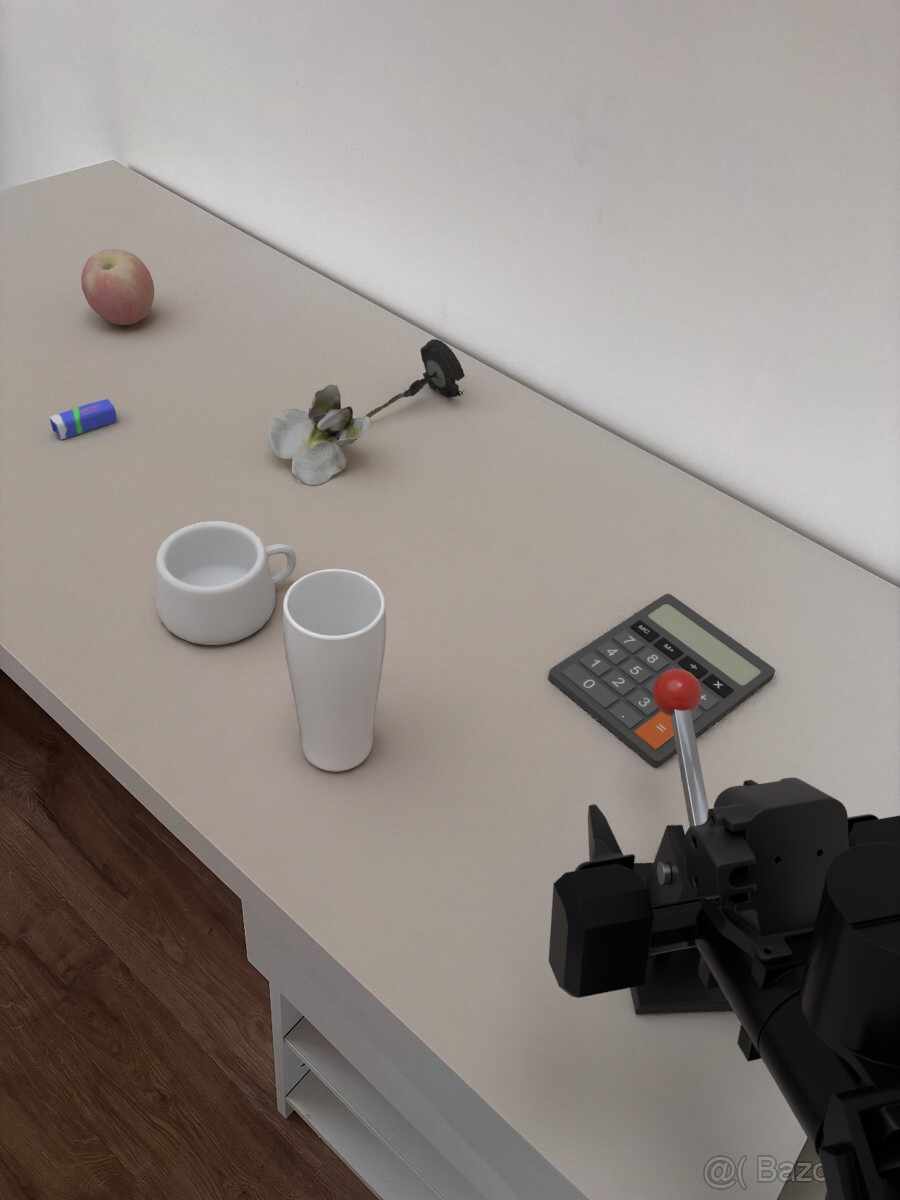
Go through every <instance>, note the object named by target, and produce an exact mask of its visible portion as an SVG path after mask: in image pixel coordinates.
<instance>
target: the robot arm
mask: <svg viewBox="0 0 900 1200" xmlns="http://www.w3.org/2000/svg"><path fill="white" fill-rule="evenodd" d="M587 835H588V836H587V837H588V859H589V861H584V862H582V863H580V864H578V865H577V867H576V868H575V870H573V871H567V872H564V873H563V874H562V875H560V877H559V878H557V880H556V881H555V882H553V884H552V885H553V886H552V901H551V916H550V931H549V932H550V933H549V947H548V948H549V949H548V963H549V966H550V968H551V971H552V973H553V976H554V978H555V980H556V984H557V985H558V987H559V988H560V989H561V990H562V991H563V992H565V993H566V994H568V995H569V996H570V997H572V998H577V999H581V998H586V997H591V996H595V995H600V994H601V995H602V994H606V993H611V992H615V991H622V990H626V989H631V988H632V987H637V986H642V985H645V983H646V975H647V967H648V959H649V955H654V954H659V953H665V952H670V951H675V950H680V949H685V948H691V947H697V949H698V950H699V952H700V954H701V959H700V965H699V971H698V975H699V976H700V978H701V980H702V982H703V983H704V985H705V987H706V989H707V990H709V989H714V988H719V987H720V988H721V990H722V992H723V993H724V995H725V997H726V998H727V1000H728V1002H729V1004H730V1005H731V1007H732V1009H733V1010H732V1011H733V1012H734V1014H735V1016H736V1018H737V1019H738V1021H739V1023H740V1026H739V1027H740V1028H739V1032H738V1038H737V1041H736V1042H737V1045H738V1047H739V1049H740V1050H741V1053H742V1054H743V1056H744V1058H745V1059H746V1062H752V1061H757V1060H762V1062H763V1063H764V1066H765V1067H766V1069H767V1070H768V1072H769V1074H770V1075H771V1077H772V1079H773V1081H774V1082H775V1084H776V1086H777V1088H778V1090H779V1091H780V1092H781V1095H782V1096H783V1098H784V1101H786V1103H787V1104H788V1107H789V1108H790V1110H791V1112H792V1114H793V1115H794V1117H795V1118H796V1120H797V1122H798V1124H799V1125H800V1127H801V1129H802V1131H803V1133H804V1134H805V1136H806V1137H807V1139H808V1141H809V1142H810V1144H811V1147H812V1148H813V1149H814V1152H815V1154H817V1157H818V1158H819V1160H820V1164H821V1168H822V1173H823V1179H824V1183H825V1187H826V1192H825V1197H824V1200H900V815H894V816H888V817H882V818H879V817H878V816H876V815H875V814H871V813H865V814H860V815H859V814H858V815H854V816H848V809H847V807H846V806H845V805H844V803H842V802H841V801H840V800H838V799H836V798H835V797H833V796H831V795H830V794H828V793H826V792H824V791H822V790H820V789H819V788H817V787H816V786H814V785H812V784H810V783H808V782H806V781H804V780H802V779H801V778H798V777H784V778H781V779H779V780H776V781H775V780H774V781H770V782H764V783H758V782H756V781H755V780H753V779H746V780H744V781H743V783H742V784H740V785H734V786H729V787H727V788H726V789H724V790H722V791H721V792H720V793H719V794H718V795H717V797H716V799H715V802H714V803H713V807H712V808H709V810H708V814H707V820H706V822H705V823H703V824H702V825H697V826H691V827H690V826H689V827H688V828H687V830H686V832H685V841H686V862H687V877H688V880H689V882H690V885H691V887H692V888H693V889H694V890H695V891H696V892H697V893H698V894H699V895H701V897H697V898H691V899H686V900H680V901H675V902H669V903H664V904H658V905H653V906H651V901H650V896H649V891H648V888H647V886H646V884H645V882H644V880H643V879H642V877H641V875H640V873H639V872H637V871H634V863H636V855H635V854H634V853H628V854H624V853H623V851H622V849H621V847H620V845H619V843H618V841H617V838H616V836H615V835H614V832H613V830H612V828H611V825H610V824H609V821H608V820H607V817H606V816H605V814H604V813H603V812H602V810H601V809H600V807H599V806H598V805H597V804H595V803H594V804H589V805H588V810H587Z"/></svg>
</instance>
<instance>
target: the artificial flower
mask: <svg viewBox="0 0 900 1200" xmlns="http://www.w3.org/2000/svg"><path fill="white" fill-rule="evenodd" d="M419 351H420V356H421V361H422V364H423V365H424V369H425V372H422V376H423V378H421V379H416V380H415V381H413V382H412V383H411V384H410V385H409V387H408V389H407V390H406V389H405V391H404V392H402V393H398V394H395V396H393V397H392V398H390V399H389V400H388V401H386V402H385V403H383V404H382V405H379V406H378V407H376V408H374V409H372V410H371V411H369V412H368V413H366V414H365V415H363V416H358V417H356V418H353V417H354V410H353V408H352V406H346V407H342V404H341V403H342V401H341V398H342V397H341V392H340V389H339V387H338V385H335V384H328V385H326V386H324V387H323V388H322V389H320V390H317V391H315V392H314V394H313V395H312V396H313V397H312V398H311V402H310V403H309V406H308V412H306V411H305V410H304V409H299V408H287V409H285V410H284V411H283V412H282V414H281V415H280V416H279V417H276V418H274V419H272V421H270V424H269V428H268V431H267V437H266V438H267V440H268V444H269V446H270V449H271V452H272V454H273V455H275V456H276V457H278V458H281V459H285V460H287V459H288V460H291V473H292V474H293V475H294V476H295V478H296V481H297V482H298V483H300V484H302V485H303V484H304V483H305V484H307V485H308V486H312V487H315V486H319V485H324V484H325V483H326V482H328V481H329V480H330V479H331V478H332V477H333V476H334V475H336V474H338V473H340V472H342V471H343V470H344V469H345V468H346V465H347V458H346V455H345V454H344V452H343V450H342V447H341V446H347V445H350V444H351V445H352V444H353V443H354V442H355V441H357V440H358V439H360V437H362V436H363V435H364V433H365V432H366V431H367V430H368V429H369V427H370V425H371V418H372V417H373V416H375V415H376V414H377V413H379V412H381V411H382V410H383V409H386V408H388V407H389V406H390V405H392V404H393V403H396V402H397V401H398V400H400V399H402V398H409V397H414V396H416V395H417V394H418V393H419V392H420V391H421V390H422V389H424V387H425V385H428V386H429V388H430V389H431V390H433V391H438V392H439V394H441V395H443V396H444V397H445V398H457V397H461V395H462V396H463V395H464V392H465V390H464V389H463V390H460V387H459V386H460V385H459V384H458V383H456V382H459V381H461V380H462V379H463V378H465V377H466V374H465V372H464V369H463V368H462V365H461V364H462V363H461V362H460V360H459V359H458V357H457V355H456V354H455V353H454V352H453V349H452V348H450V347H449V346H448V345H447V344H446V343H445V342H444V341H442V340H439V339H437V338H435V339H431V340H428V341H427V342H426V343H425V345H423V346H422V347H420V350H419ZM341 407H342V408H341Z"/></svg>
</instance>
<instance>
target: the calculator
mask: <svg viewBox="0 0 900 1200" xmlns="http://www.w3.org/2000/svg"><path fill="white" fill-rule="evenodd" d="M670 669H683V670H686V671H688V672H690V673H691V674H693V675H694V676H695V677H696V678H697V680H698V681H699V683H700V686H701V690H702V696H701V701H700V703H699V705H698V707H697V708H696V709H695V710H694V711H693V712H692V713H691V716H692V721H693V727H694V732H695V738H696V739H697V738H698V737H699V736H700V735H702V734H703V733H705V732H706V731H707V730H708V729H709V728H711V727H712V726H713V725H715V724H716V723H717V722H718V721H720V720H721V719H722V718H724V717H725V716H726V715H727V714H729V713H730V712H731V711H732V710H734V709H735V708H736V707H737V706H739V705H740V704H741V703H743V702H744V701H745V700H747V699H748V698H749V697H751V696H752V695H753V694H754V693H756V692H757V691H759V690H760V689H761V688H762V687H764V686H765V685H766V684H768V683H769V682H770V681H771V680H772V679H773V678H774V676H775V673H776V669H775V668H774V667H773V666H772V665H770V664H769V663H768V662H766V661H765V660H763V659H762V658H760V657H759V656H758V655H756V654H755V653H753V652H752V651H751V650H750V649H748V648H747V647H746V646H744V645H742V644H741V643H740V642H739V641H737V640H736V639H734V638H733V637H731V636H730V635H729V634H727V633H726V632H724V631H723V630H721V629H720V628H718V627H717V626H716V625H715V624H713V623H712V622H710V621H709V620H708V619H706V618H704V617H703V616H702V615H700V614H699V613H698V612H696V611H695V610H693V609H692V608H691V607H689V606H688V605H687V604H685V603H684V602H682V600H679V599H678V598H677V597H675V596H674V595H672V594H671V593H664V594H663V595H661V596H660V597H659V598H657V599H655V600H653V601H652V602H650V603H649V604H648V605H646V606H645V607H643V608H641V609H640V610H638V611H636V612H635V613H633V614H632V615H631V616H629V617H628V618H626V619H625V620H622V622H620V623H618V624H617V625H616V626H614V627H613V628H611V629H609V630H607V631H606V632H604V633H603V634H602V635H600V636H598V637H597V638H595V639H594V640H592V641H591V642H589V643H588V644H586V645H585V646H583V647H581V648H580V649H578V650H577V651H576V652H574V653H572V654H570V656H568V657H566V658H564V660H561V661H560V662H558V663H557V664H555V665H554V666H553V667H551V668H550V669H549V671H548V675H547V679H548V680H549V681H550V682H551V683H552V684H554V685H555V686H556V687H557V688H558V689H559V690H560V691H562V692H563V693H564V694H565V695H566V696H568V697H569V698H570V699H572V700H573V701H574V702H575V703H577V705H578V706H580V707H581V708H582V709H583V710H584V711H586V712H587V713H588V714H589V715H591V716H592V717H593V718H594V719H596V721H598V722H599V723H600V724H602V725H603V726H604V728H606V729H608V730H609V732H611V733H613V735H614V736H615V737H617V738H618V739H619V740H621V741H622V742H623V743H624V744H625V745H626V746H628V747H629V748H631V750H633V751H634V752H635V753H636V754H637V755H639V756H640V757H641V758H642V759H643V760H645V762H647V763H648V764H649V765H650V766H652V767H654V768H658V767H660V766H662V765H663V764H664V763H666V762H667V761H668V760H669V759H671V758H672V757H673V756H675V755H677V750H676V744H675V738H674V732H673V727H672V721H671V716H669V715H666V714H664V713H663V712H662V711H660V710H659V709H658V707H657V706H656V704H655V702H654V700H653V695H652V690H653V685H654V683H655V681H656V679H657V678H658V677H659V676H660V675H661V674H662V673H663V672H665V671H667V670H670Z"/></svg>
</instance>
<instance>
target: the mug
mask: <svg viewBox="0 0 900 1200" xmlns="http://www.w3.org/2000/svg"><path fill="white" fill-rule="evenodd" d="M279 554H282V555H284V556H286V563H285V565H284V567H283V568H282V569H281V570H280V571H279V572H277V573H275V574H272V571H271V566H270V562H269V557H271V556H273V555H279ZM296 566H297V555H296V551H295V550H294V548H292V547H291V546H289V545H287V544H284V543H275V544H271V545H267V546H265V544H264V542H263V540H262V539H261V538H260V537H259V536H258V534H257V533H256V532H254V531H252V530H251V529H249V528H248V527H247V526H244V525H241V524H239V523H236V522H230V521H224V520H208V521H207V520H206V521H201V522H196V523H192V524H189V525H187V526H184V527H181V528H180V529H178V530H176V531H174V532H173V533H170V534H169V535H168V537H166V538H165V540H163V541H162V543H161V545H160V546H159V549H158V551H157V553H156V559H155V581H156V582H155V599H156V601H155V602H156V608H157V612H158V615H159V619H160V621H161V623H162V624H163V625H164V627H165V628H166V629H167V631H170V632H171V633H172V634H173V635H175V636H177V637H179V639H183V640H185V641H187V642H190V643H192V644H197V645H202V646H203V645H204V646H223V645H226V644H227V645H228V644H233V643H236V642H239V641H241V640H243V639H246V638H248V637H250V636H251V635H253V634H254V633H256V632H257V631H259V630H260V629H261V628H263V626H264V625H265V624H266V623H267V622H268V620H270V618H271V617H272V615H273V612H274V609H275V607H276V589H275V588H276V587H275V585H278V584H279V583H281V582H283V581H285V580H286V579H287V578H289V577H290V576H291V574H292V573H293V572H294V570H295V569H296Z"/></svg>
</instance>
